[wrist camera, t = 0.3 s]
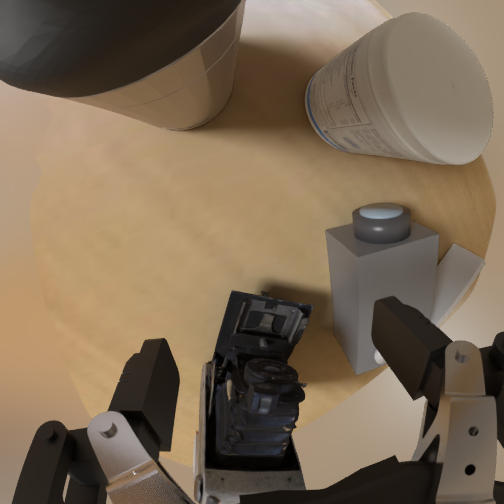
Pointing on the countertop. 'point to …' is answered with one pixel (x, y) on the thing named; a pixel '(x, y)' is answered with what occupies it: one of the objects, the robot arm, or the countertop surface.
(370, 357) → the camera housing
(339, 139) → the supplement tub
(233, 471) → the vintage camera
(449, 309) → the side door
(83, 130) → the countertop surface
